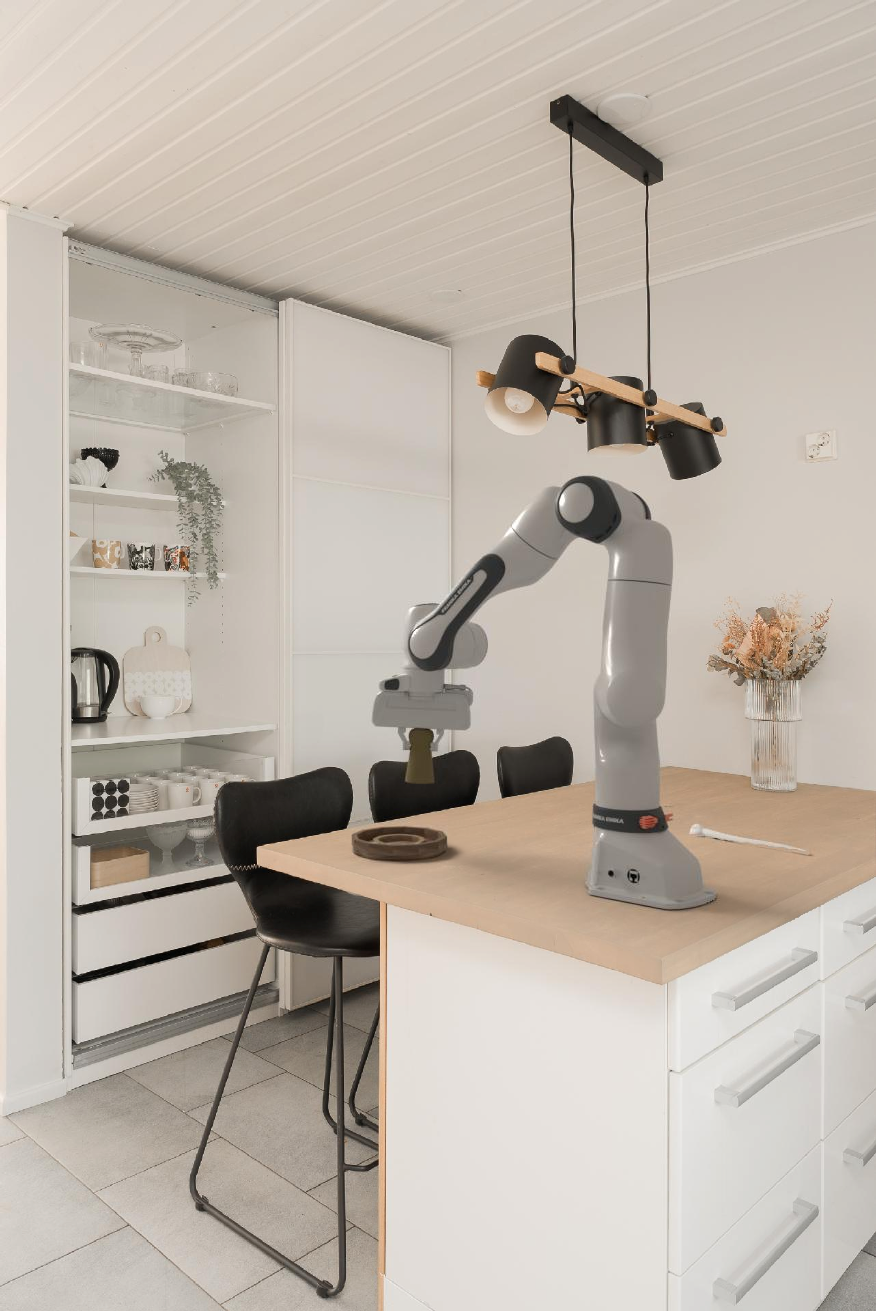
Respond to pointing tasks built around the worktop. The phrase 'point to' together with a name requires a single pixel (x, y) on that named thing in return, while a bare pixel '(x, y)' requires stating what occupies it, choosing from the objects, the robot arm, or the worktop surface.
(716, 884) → the worktop surface
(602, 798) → the robot arm
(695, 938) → the worktop surface
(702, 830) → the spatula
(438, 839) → the tray
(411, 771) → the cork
